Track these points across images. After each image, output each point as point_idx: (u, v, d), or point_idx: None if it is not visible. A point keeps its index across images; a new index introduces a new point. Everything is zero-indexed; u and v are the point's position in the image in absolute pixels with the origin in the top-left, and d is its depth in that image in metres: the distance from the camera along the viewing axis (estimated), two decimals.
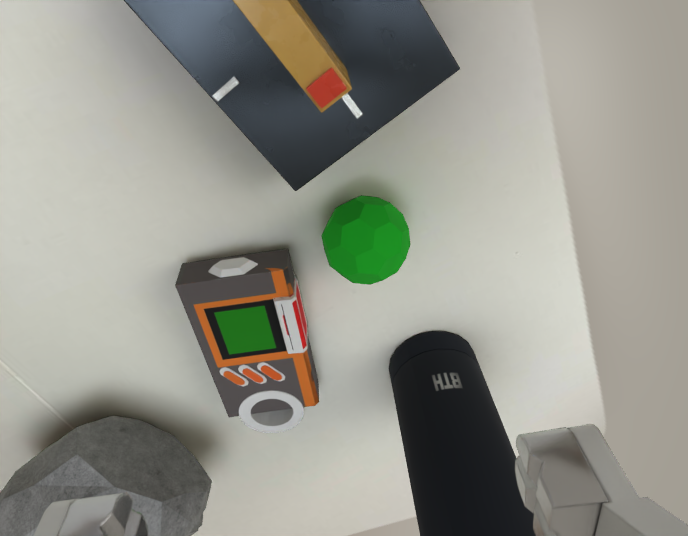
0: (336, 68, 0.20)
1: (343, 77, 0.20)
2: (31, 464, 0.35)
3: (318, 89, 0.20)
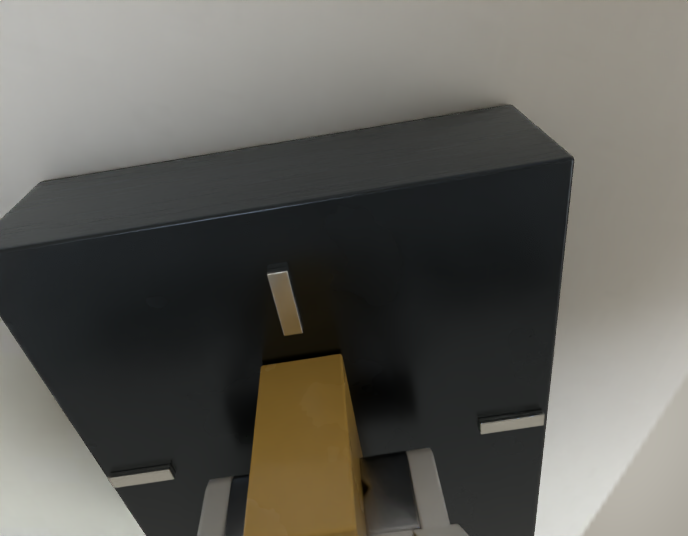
0: None
1: None
2: None
3: None
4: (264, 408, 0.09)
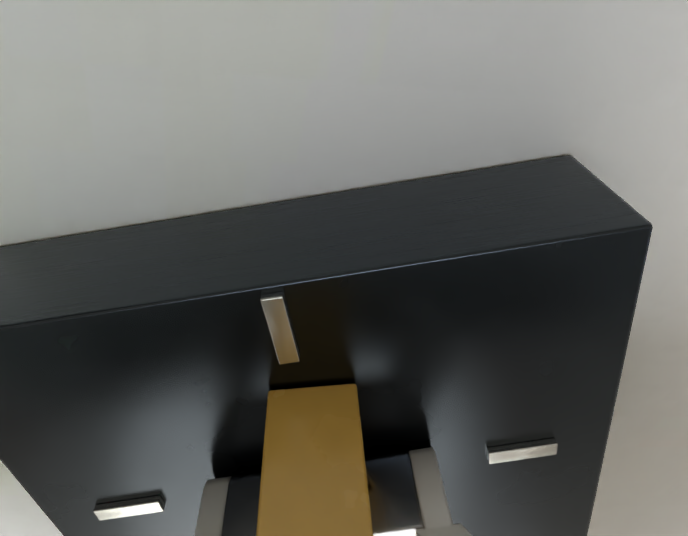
0: None
1: None
2: None
3: None
4: (273, 440, 0.08)
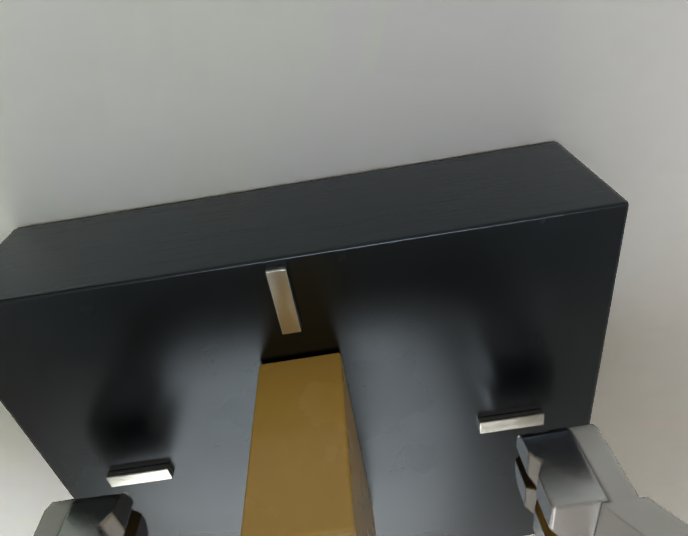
0: None
1: None
2: None
3: None
4: (262, 407, 0.09)
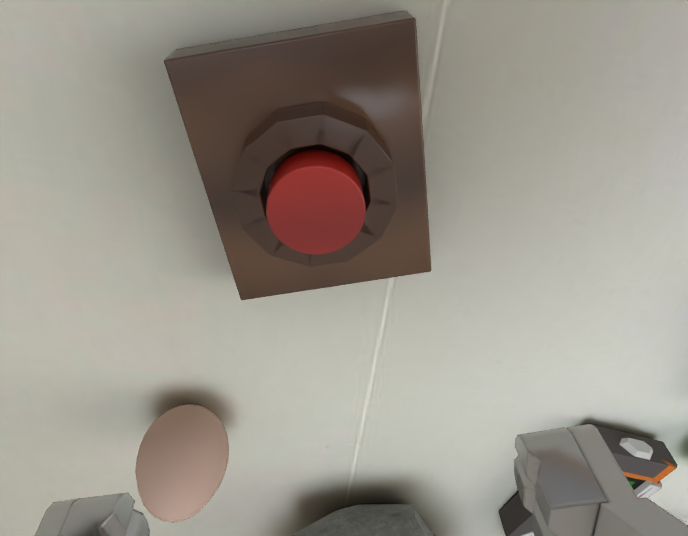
0: None
1: None
2: None
3: None
4: None
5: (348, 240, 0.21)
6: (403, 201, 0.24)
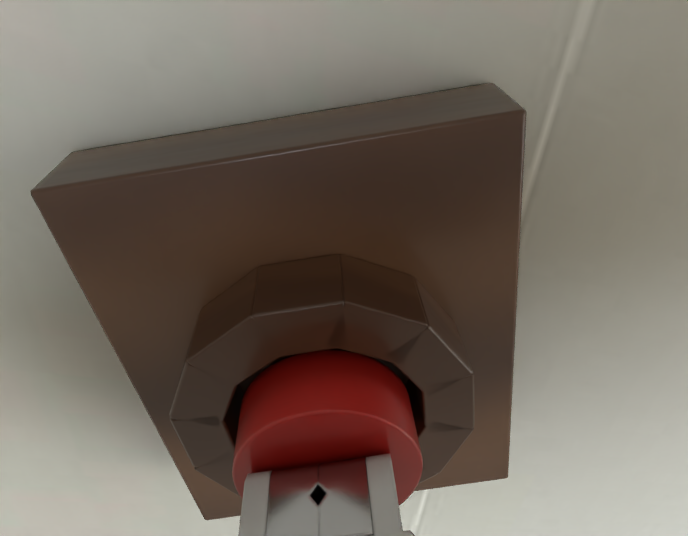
0: None
1: None
2: None
3: None
4: None
5: None
6: None
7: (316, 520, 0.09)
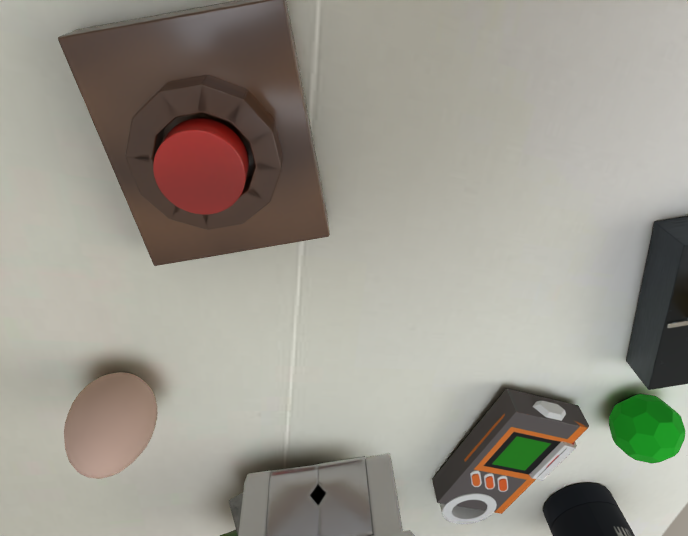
0: None
1: None
2: None
3: None
4: None
5: (233, 200, 0.24)
6: (294, 169, 0.26)
7: (316, 520, 0.09)
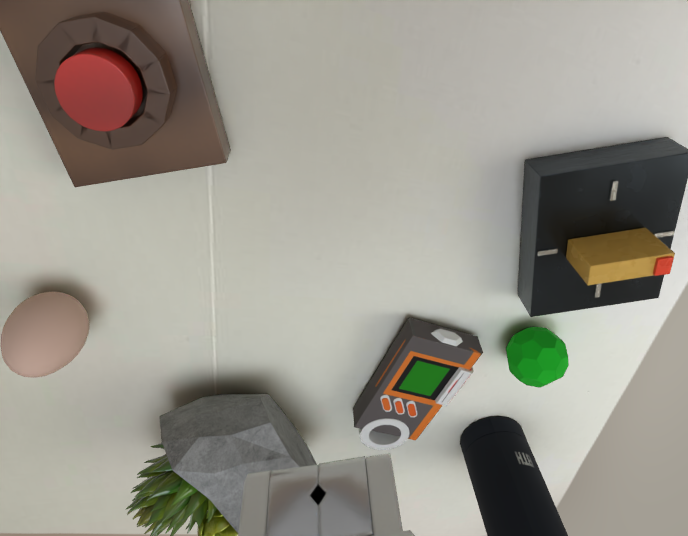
0: (659, 255, 0.33)
1: (665, 254, 0.34)
2: (212, 414, 0.42)
3: (660, 270, 0.34)
4: (572, 264, 0.36)
5: (125, 119, 0.28)
6: (188, 99, 0.31)
7: (316, 520, 0.09)
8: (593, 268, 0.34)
